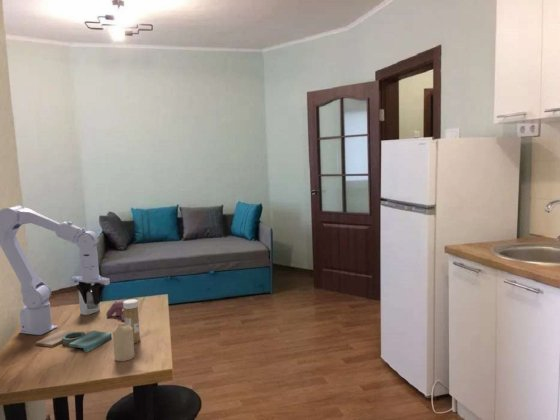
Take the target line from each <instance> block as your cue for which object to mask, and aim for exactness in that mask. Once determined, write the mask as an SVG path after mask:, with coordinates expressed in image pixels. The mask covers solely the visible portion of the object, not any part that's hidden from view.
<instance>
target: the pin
mask: <svg viewBox="0 0 560 420" xmlns="http://www.w3.org/2000/svg"><path fill="white" fill-rule="evenodd" d="M86 299H87V309H95V308H97V307H98V304H97V305H95V304H94V299H93V293H92V291H91V290H87V291H86Z"/></svg>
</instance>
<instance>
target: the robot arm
mask: <svg viewBox="0 0 560 420" xmlns="http://www.w3.org/2000/svg"><path fill="white" fill-rule="evenodd" d="M27 224H33V225H36V226H38V227H41V228H44V229H45V230H46V229H47V230H50V231H51V232H54V233H55V235H56V237H58V238H60V239H63V240H65V241H67V242H70V243H73V244H75V245H77V247H78V248H79V260H80V262H79V263H80V274H81V275H79V276H78V275H76V276H75V275H74V276H72V277H71V283H73V284H75V283H77V285H76V286H75V288H76V289H77V290H79V291H80V293H81V295H82V297H83V300H84V303H85V304H87V299H86V291H87V290H91V291H92V293H93V299H94V304H95V305H97V304H99V305H100V303H101V299H102V294H103V292H104V289H105V287H106V286H108V285H110V283H111V280H110V278H108V277H103V276H101V275H100V270H99V269H100V267H99V256H98V248H97V247H98V245H97V243H98V241H99V236H98V234H97V232H95V231H93V230H92V229H86V227H79V226H77V225H75V224H73V222H72V221H70V220H69V221H68V222H67V221H63V222H59V221H56V220H54V219H51V218H50V217H47V216H45V215H43V214H41V213H39V212H37V211H35V210H33V209H31V208H28V207H24V206H22V205H20V204H19V205H17V204H16V205H13V206H10V207H5V208H2V209H0V248H1V249H2V251H3V253H4V255H5V257H6V258H7V260H8V262H9V264H10V266H11V268H12V269H13V272H14V273H15V276H16V278H17V279H18V281H19V283H20V293H21V295H22V303H23V307H21V309H20V311H19V320H20V330H19V331H18V332H19V334H28V335H35V336H42V335H44V334H46V333H48V332H50V331H52V330H55V329H57V328H58V325H54V324H52V314H51V312H52V311H51V303H50V300H49V298H50V297H51V296H52V288H51V287H50V286H49V285H48V284H47V283H45V281H44V280H43V278H42V277H40V276H39V275H37V274H36V271H35V269H34V268H33V266H32V263H31V262H30V260H29V258H28V257H27V255H26V253H25V251H24V248H23V247H22V246H21V244H20V242H19V240H18V238H17V236H16V235H17V233H18V231H19V228H20V227H21V226H22V225H27ZM78 284H79V285H78ZM91 284H94V285H92V286H91ZM79 291H78V292H79Z"/></svg>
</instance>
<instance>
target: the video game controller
mask: <svg viewBox="0 0 560 420" xmlns="http://www.w3.org/2000/svg"><path fill="white" fill-rule="evenodd" d="M124 301H125V300H118V301H117V300H116V301H114V302H113V304H112V305H111V306H110V307H109V308H108V309H107V311H106V317H107V318H110V317H113V315H114V314H115V315H116V316H118V317H120V316H121V321H122V322H123V321H124V322H125V319H124V317H125V316H124V308H123V302H124Z"/></svg>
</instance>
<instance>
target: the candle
mask: <svg viewBox="0 0 560 420" xmlns="http://www.w3.org/2000/svg"><path fill="white" fill-rule="evenodd" d="M112 335H113V336H112V338H113V351H114V352H113V353H114V360H115V361H118V362H126V361H129V360H132V359H134V357H135V345H134V344H135V343H134V341H133V328H132V327H131V326H130V325H128V324H125V322H124V323H122V324H121V323H120V324H119V323H118V325H116V327H115V328H114V329H113V330H112Z"/></svg>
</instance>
